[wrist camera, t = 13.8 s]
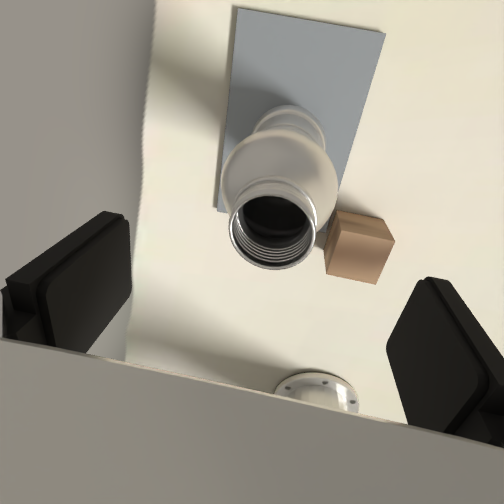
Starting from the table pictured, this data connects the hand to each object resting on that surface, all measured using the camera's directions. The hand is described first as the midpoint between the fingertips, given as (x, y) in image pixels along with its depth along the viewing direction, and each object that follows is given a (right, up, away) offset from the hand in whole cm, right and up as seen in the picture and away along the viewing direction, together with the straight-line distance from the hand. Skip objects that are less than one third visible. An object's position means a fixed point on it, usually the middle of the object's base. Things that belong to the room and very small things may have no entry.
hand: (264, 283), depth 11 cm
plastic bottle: (+3, +12, +20) cm, 24 cm away
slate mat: (+3, +12, +20) cm, 24 cm away
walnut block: (+11, +3, +25) cm, 27 cm away
